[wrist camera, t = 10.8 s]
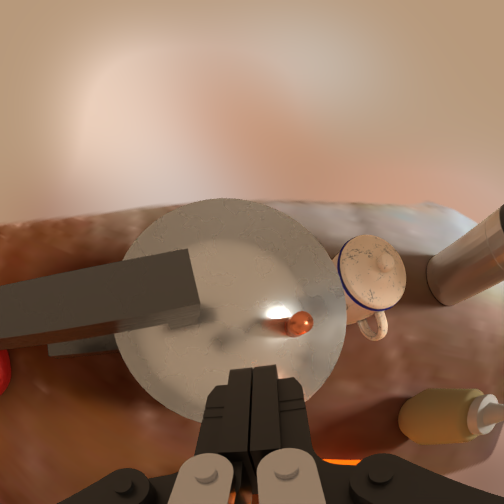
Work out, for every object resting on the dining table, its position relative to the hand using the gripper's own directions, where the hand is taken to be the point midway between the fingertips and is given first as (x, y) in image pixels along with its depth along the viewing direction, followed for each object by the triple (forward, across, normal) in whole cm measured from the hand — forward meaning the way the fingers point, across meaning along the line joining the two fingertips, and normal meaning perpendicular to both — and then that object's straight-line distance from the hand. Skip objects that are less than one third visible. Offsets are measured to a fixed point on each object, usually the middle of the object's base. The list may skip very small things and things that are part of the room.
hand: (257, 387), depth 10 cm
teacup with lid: (+29, -10, +12) cm, 33 cm away
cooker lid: (+13, +6, +3) cm, 15 cm away
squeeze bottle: (+20, -18, +28) cm, 38 cm away
